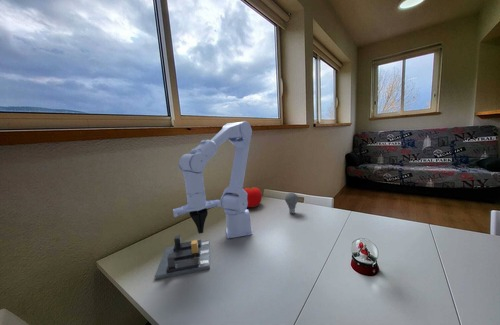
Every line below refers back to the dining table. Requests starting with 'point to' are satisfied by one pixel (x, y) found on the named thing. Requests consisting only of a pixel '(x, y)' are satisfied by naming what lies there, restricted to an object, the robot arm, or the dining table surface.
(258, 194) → the tomato
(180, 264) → the breaker panel
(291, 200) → the light bulb
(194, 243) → the breaker
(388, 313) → the dining table surface
